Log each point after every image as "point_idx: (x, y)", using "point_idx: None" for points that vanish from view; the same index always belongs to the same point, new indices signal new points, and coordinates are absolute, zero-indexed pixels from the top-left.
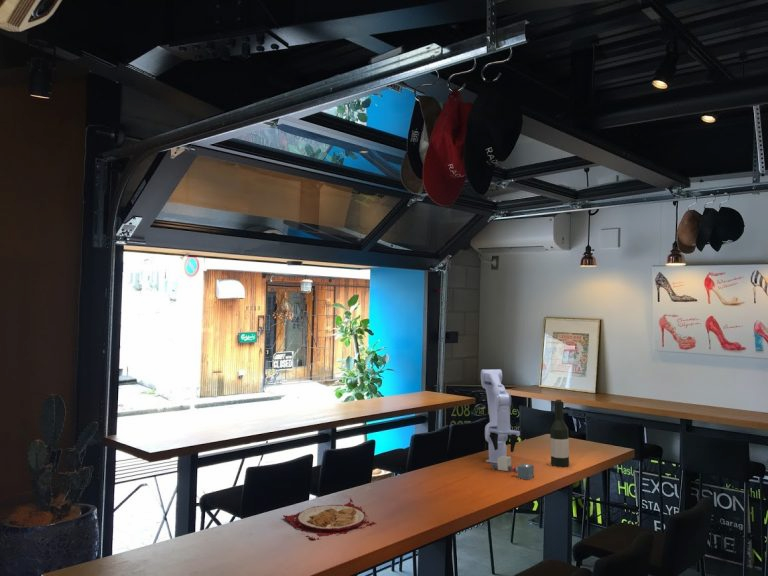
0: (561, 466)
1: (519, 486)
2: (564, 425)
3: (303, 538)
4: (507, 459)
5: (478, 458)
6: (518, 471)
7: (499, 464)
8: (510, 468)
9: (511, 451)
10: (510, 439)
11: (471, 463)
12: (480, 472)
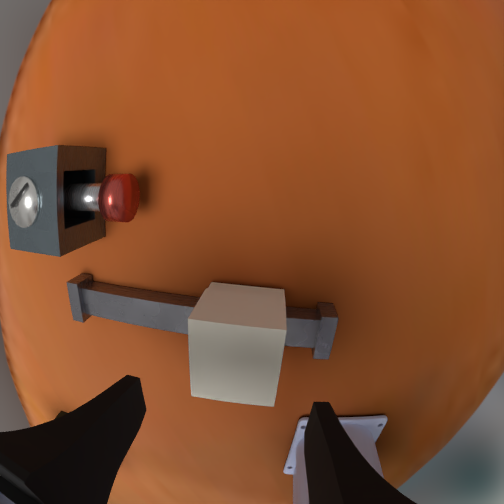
0: (62, 413)
1: (79, 21)
2: None
3: None
4: (189, 327)
5: (417, 440)
6: (75, 146)
7: (268, 302)
8: (192, 304)
9: (128, 377)
10: (45, 455)
11: (453, 360)
12: (382, 180)
